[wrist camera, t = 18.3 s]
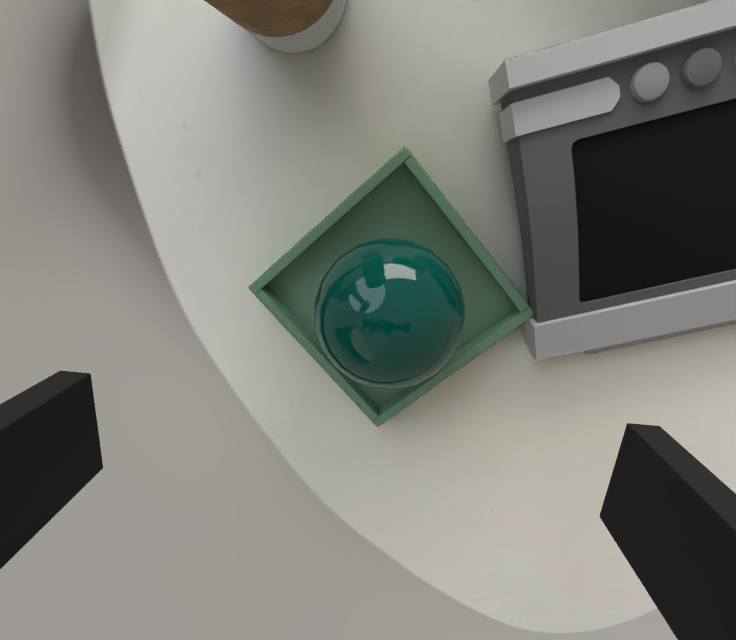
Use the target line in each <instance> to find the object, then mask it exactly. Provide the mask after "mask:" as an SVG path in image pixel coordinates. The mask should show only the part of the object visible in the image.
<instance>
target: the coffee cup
mask: <svg viewBox="0 0 736 640" xmlns="http://www.w3.org/2000/svg"><path fill="white" fill-rule="evenodd" d="M205 1H206V2H207V3H209V4H210V5H212V6H213V7H214V8H216V9H217V10H219V11H220V12H222V13H223V14H224V15H226V16H227V17H229V18H230V19H231V20H233V21H234V22H236V23H237V24H238V25H240V26H242V27H244V28H245V29H247V30H248V31H249V32H250V33H252V34H253V35H254V36H255V37H257V38H258V39H259V40H260V41H262V42H263V43H264V44H266V45H268V46H270V47H272V48H273V49H275V50H279V51H282V52H286V53H300V52H306V51H308V50H311V49H313V48H316V47H317V46H319V45H320V44H322V43H323V42H325V41H326V40H327V39H328V38H329V37H330V36H331V34H332V33H333V32H334V30H335V29H336V27H337V26H338V24H339V22H340V20H341V18H342V15H343V13H344V9H345V5H346V0H205Z"/></svg>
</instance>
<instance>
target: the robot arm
mask: <svg viewBox="0 0 736 640" xmlns="http://www.w3.org/2000/svg"><path fill="white" fill-rule="evenodd" d="M102 468H103V464H102V456H101V449H100V441H99V434H98V426H97V419H96V412H95V404H94V397H93V389H92V381H91V374H89V373H78V372H68V371H59V372H57V373H55V374H54V375H52V376H50V377H48V378H46V379H45V380H43V381H41V382H39V383H38V384H36V385H34V386H32V387H30V388H29V389H27V390H25V391H23V392H22V393H20V394H18V395H16V396H14V397H13V398H11V399H9V400H7V401H5V402H4V403H2V404H0V569H1V568H2V567H3V566H4V565H5V564H6V563H7V562H8V561H9V560H10V559H11V558H12V557H13V556H14V555H15V554H16V553H17V552H18V551H19V550H20V549H21V548H22V547H23V546H24V545H25V544H26V543H27V542H28V541H29V540H30V539H31V538H32V537H33V536H34V535H35V534H36V533H37V532H38V531H39V530H40V529H42V528H43V526H45V525H46V524H47V523H48V522H49V521H50V520H51V519H52V518H53V517H54V516H55V515H56V514H57V512H59V511H60V510H61V509H62V508H63V507H64V506H65V505H66V504H67V503H68V502H69V501H70V500H71V499H72V498H73V497H74V496H75V495H76V494H77V493H78V492H79V491H80V490H81V489H82V488H83V487H84V486H85V485H86V484H87V483H88V482H89V481H90V480H91V479H92V478H93V477H94V476H95V475H96V474H97V473H98V472H99V471H100V470H101V469H102ZM600 518H601V520H602V521H603V523H604V524H605V526H606V527H607V529H608V531H609V532H610V534H611V535H612V537H613V538H614V540H615V542H616V543H617V545H618V546H619V548H620V549H621V551H622V553H623V554H624V556H625V557H626V559H627V560H628V562H629V564H630V565H631V567H632V568H633V570H634V571H635V573H636V575H637V576H638V578H639V579H640V581H641V582H642V584H643V586H644V587H645V589H646V590H647V592H648V594H649V595H650V597H651V598H652V600H653V601H654V603H655V605H656V606H657V608H658V609H659V610H660V612H661V614H662V615H663V617H664V618H665V620H666V622H667V623H668V625H669V626H670V628H671V630H672V631H673V633H674V634H675V636H676V638H677V639H678V640H736V494H735V493H734V492H733V491H732V490H731V489H729V488H728V487H727V486H726V485H725V484H724V483H723V482H722V481H720V480H719V479H718V478H717V477H716V476H715V475H714V474H713V473H711V472H710V471H709V470H708V469H707V468H706V467H705V466H704V465H703V464H701V463H700V462H699V461H698V460H697V459H696V458H695V457H694V456H692V455H691V454H690V453H689V452H688V451H687V450H686V449H685V448H683V447H682V446H681V445H680V444H679V443H678V442H677V441H676V440H674V439H673V438H672V437H671V436H670V435H669V434H668V433H667V432H665V431H664V430H663V429H662V428H661V427H660V426H651V425H640V424H629V423H627V426H626V429H625V433H624V436H623V439H622V443H621V446H620V449H619V453H618V456H617V459H616V463H615V466H614V469H613V473H612V476H611V480H610V483H609V486H608V490H607V493H606V496H605V500H604V503H603V506H602V510H601V513H600Z"/></svg>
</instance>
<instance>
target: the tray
mask: <svg viewBox="0 0 736 640" xmlns="http://www.w3.org/2000/svg"><path fill="white" fill-rule="evenodd" d="M411 155H412V154H411V152H410V151H409V150H408V149H407V147H404V148H402V149H401V150H400V151H399V152H398V153H397V154H396V155H395V156H394V157H392V158H391V159H390V160H389V161H388V162H387V163H386V164H385V165H384V166H382V167H381V168H380V169H379V170H378V171H377V172H376V173H375V174H374V175H372V176H371V177H370V178H369V179H368V180H367V181H366V182H365V183H364V184H362V185H361V186H360V187H359V188H358V189H357V190H356V191H355V192H354V193H352V194H351V195H350V196H349V197H348V198H347V199H346V200H345V201H344V202H342V203H341V204H340V205H339V206H338V207H337V208H336V209H335V210H333V211H332V212H331V213H330V214H329V215H328V216H327V217H326V218H325V219H323V220H322V221H321V222H320V223H319V224H318V225H317V226H316V227H315V228H313V229H312V230H311V231H310V232H309V233H308V234H307V235H306V236H305V237H303V238H302V239H301V240H300V241H299V242H298V243H297V244H296V245H295V246H293V247H292V248H291V249H290V250H289V251H288V252H287V253H286V254H285V255H283V256H282V257H281V258H280V259H279V260H278V261H277V262H276V263H275V264H273V265H272V266H271V267H270V268H269V269H268V270H267V271H266V272H265V273H263V274H262V275H261V276H260V277H259V278H258V279H257V280H256V281H255V282H253V283H252V284H251V285H250V286H249V287H248V288H249V289H250V290H251V291H252V292H253V294H256V295H255V296H256V297H257V298H258V299H259V300H260V301H261V302H262V303H263V304H264V305H265V306H266V308H267V309H268V310H269V311H270V312H271V313H272V314H273V315H274V316H275V317H276V318H277V319H278V320H279V322H280V323H281V324H282V325H283V326H284V327H285V328H286V329H287V330H288V331H289V332H290V333H291V334H292V336H293V337H294V338H295V339H296V340H297V341H298V342H299V343H300V344H301V345H302V346H303V347H304V348H305V350H306V351H307V352H308V353H309V354H310V355H311V356H312V357H313V358H314V359H315V360H316V361H317V362H318V364H319V365H320V366H321V367H322V368H323V369H324V370H325V371H326V372H327V373H328V374H329V375H330V376H331V378H332V379H333V380H334V381H335V382H336V383H337V384H338V385H339V386H340V387H341V388H342V389H343V390H344V392H345V393H346V394H347V395H348V396H349V397H350V398H351V399H352V400H353V401H354V402H355V403H356V404H357V406H358V407H359V408H360V409H361V410H362V411H363V412H364V413H365V414H366V415H367V416H368V417H369V418H370V420H372V422H373V423H374V424H375V425H376V426H377V427H379V426H380V425H382V424H383V423H384V422H386V421H387V420H389V419H390V418H391V417H393V416H394V415H396V414H397V413H398V412H400V411H401V410H402V409H404V408H405V407H407V406H408V405H409V404H411V403H412V402H414V401H415V400H416V399H418V398H419V397H421V396H422V395H423V394H425V393H426V392H428V391H429V390H430V389H432V388H433V387H435V386H436V385H437V384H439V383H440V382H442V381H443V380H444V379H446V378H447V377H449V376H450V375H451V374H453V373H454V372H456V371H457V370H458V369H460V368H461V367H463V366H464V365H465V364H467V363H468V362H470V361H471V360H472V359H474V358H475V357H476V356H478V355H479V354H481V353H482V352H483V351H485V350H486V349H488V348H489V347H490V346H492V345H493V344H495V343H496V342H497V341H499V340H500V339H502V338H503V337H504V336H506V335H507V334H509V333H510V332H511V331H513V330H514V329H516V328H517V327H518V326H520V325H521V324H523V323H524V322H525V321H527V320H528V319H530V318H531V317H532V316H534V315H533V310H532V309H531V307H529V305H528V304H527V302H526V301H525V300H524V298H523V297H522V296H521V295H520V293H519V292H518V291H517V289H516V288H515V287H514V285H513V284H512V283H511V282H510V280H509V279H508V278H507V276H506V275H505V274H504V273H503V271H502V270H501V269H500V267H499V266H498V265H497V264H496V262H495V261H494V260H493V258H492V257H491V256H490V254H489V253H488V252H487V251H486V249H485V248H484V247H483V245H482V244H481V243H480V242H479V240H478V239H477V238H476V236H475V235H474V234H473V233H472V231H471V230H470V229H469V227H468V226H467V225H466V223H465V222H464V221H463V220H462V218H461V217H460V216H459V214H458V213H457V212H456V211H455V209H454V208H453V207H452V205H451V204H450V203H449V202H448V200H447V199H446V198H445V196H444V195H443V194H442V192H441V191H440V190H439V189H438V187H437V186H436V185H435V183H434V182H433V181H432V180H431V178H430V177H429V176H428V174H427V173H426V172H425V170H424V169H423V168H422V167H421V165H420V164H419V163H418V161H417V160H416V159H415V158H414V156H411ZM379 238H395V239H407V240H409V241H412V242H414V243H417V244H419V245H422V246H424V247H427V248H429V249H430V250H432V251H433V252H434V253H435V254H436V255H437V256H439V257H440V258H441V259H442V260H443V261H445V262H446V263H447V264H448V265H449V267H450V269H451V270H452V272H453V274H454V275H455V277H456V279H457V280H458V282H459V284H460V286H461V290H462V295H463V300H464V304H465V309H466V313H465V321H464V329H463V335H462V338H461V340H460V342H459V344H458V346H457V348H456V350H455V352H454V354H453V356H452V358H451V359H450V360H449V361H448V362H447V363H446V364H445V365H444V366H443V367H442V368H441V369H440V370H439V371H438V372H437V373H436V374H435V375H433V376H431V377H429V378H428V379H426V380H424V381H422V382H420V383H418V384H417V385H414V386H409V387H404V388H399V389H395V390H394V389H381V388H372V387H369V386H367V385H364V384H361V383H359V382H356V381H354V380H352V379H351V378H349V377H348V376H347V375H345V374H344V373H343V372H341V371H340V370H339V369H338V368H336V367H335V366H334V365H333V363H332V362H331V361H330V359H329V358H328V356H327V355H326V354H325V352H324V351H323V349H322V348H321V345H320V342H319V339H318V336H317V332H316V329H315V326H314V300H315V297H316V294H317V292H318V289H319V286H320V283H321V281H322V278H323V276H324V274H325V273H326V272H327V271H328V269H329V268H330V267H331V265H332V264H333V263H334V262H335V260H336V259H337V258H338V257H339V256H341V255H342V254H344V253H345V252H347V251H349V250H350V249H352V248H353V247H355V246H356V245H358V244H360V243H364V242H368V241H372V240H376V239H379Z"/></svg>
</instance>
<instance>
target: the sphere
mask: <svg viewBox="0 0 736 640" xmlns="http://www.w3.org/2000/svg"><path fill="white" fill-rule="evenodd" d="M465 313H466V309H465V304H464V300H463V295H462V290H461V286H460V284H459V282H458V280H457V279H456V277H455V275H454V274H453V272H452V270H451V269H450V267H449V265H448V264H447V263H446V262H445V261H443V260H442V259H441V258H440V257H439V256H437V255H436V254H435V253H434V252H433V251H432V250H430V249H429V248H427V247H424V246H422V245H419V244H417V243H414V242H412V241H409V240H407V239H395V238H379V239H376V240H372V241H368V242H364V243H360V244H358V245H356V246H355V247H353V248H352V249H350V250H349V251H347V252H345V253H344V254H342V255H341V256H339V257H338V258H337V259H336V260H335V262H334V263H333V264H332V265H331V267H330V268H329V269H328V271H327V272H326V273H325V274H324V276H323V278H322V281H321V283H320V286H319V289H318V292H317V294H316V297H315V300H314V326H315V329H316V332H317V336H318V339H319V342H320V345H321V348H322V349H323V351H324V352H325V354H326V355H327V356H328V358H329V359H330V361H331V362H332V363H333V365H334V366H335V367H336V368H338V369H339V370H340V371H341V372H343V373H344V374H345V375H347V376H348V377H349V378H351V379H352V380H354V381H356V382H359V383H361V384H364V385H367V386H369V387H372V388H381V389H394V390H395V389H399V388H404V387H409V386H414V385H417V384H418V383H420V382H422V381H424V380H426V379H428V378H429V377H431V376H433V375H435V374H436V373H437V372H438V371H439V370H440V369H441V368H442V367H443V366H444V365H445V364H446V363H447V362H448V361H449V360H450V359H451V358H452V356H453V354H454V352H455V350H456V348H457V346H458V344H459V342H460V340H461V338H462V335H463V329H464V321H465Z"/></svg>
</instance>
